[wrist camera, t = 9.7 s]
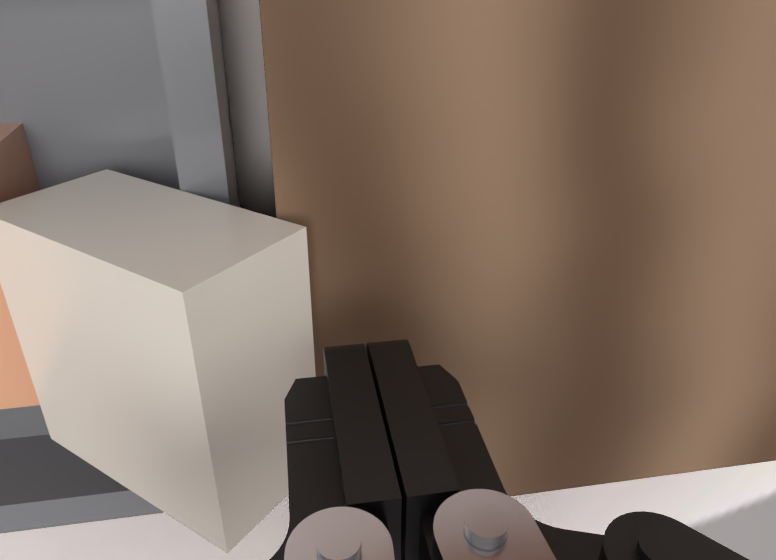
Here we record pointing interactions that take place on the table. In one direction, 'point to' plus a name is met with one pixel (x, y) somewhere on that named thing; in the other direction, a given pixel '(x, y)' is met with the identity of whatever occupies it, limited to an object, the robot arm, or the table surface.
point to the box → (100, 152)
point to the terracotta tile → (3, 350)
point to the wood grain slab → (545, 215)
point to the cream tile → (163, 340)
